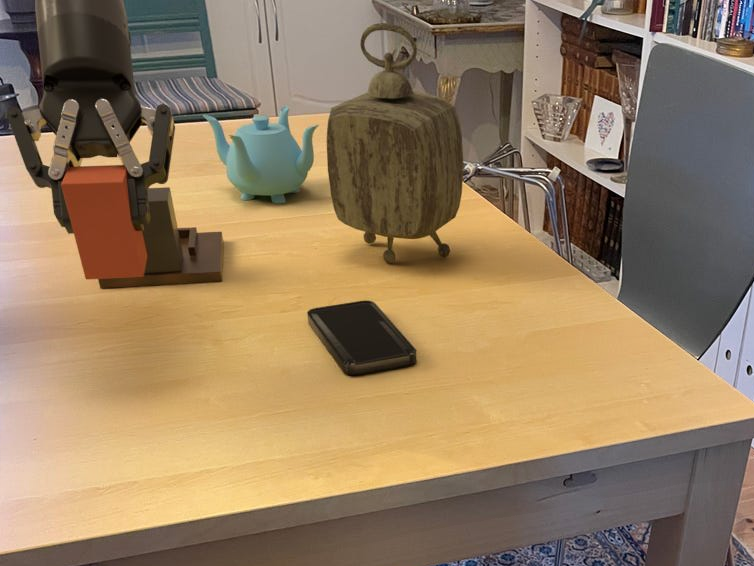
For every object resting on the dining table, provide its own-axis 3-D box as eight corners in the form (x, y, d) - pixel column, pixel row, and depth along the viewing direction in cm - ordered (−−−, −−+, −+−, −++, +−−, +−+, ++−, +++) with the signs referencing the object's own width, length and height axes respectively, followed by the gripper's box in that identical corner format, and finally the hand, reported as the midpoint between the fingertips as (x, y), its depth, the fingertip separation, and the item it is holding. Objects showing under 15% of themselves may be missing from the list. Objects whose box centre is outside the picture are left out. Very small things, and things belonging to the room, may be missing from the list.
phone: (346, 366, 93) (304, 309, 103) (347, 377, 94) (305, 319, 104) (420, 353, 95) (372, 298, 105) (420, 363, 96) (373, 308, 106)
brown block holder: (100, 288, 110) (78, 206, 104) (111, 246, 120) (92, 169, 114) (222, 281, 112) (208, 200, 106) (223, 240, 122) (210, 164, 116)
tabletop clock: (463, 255, 119) (463, 23, 102) (432, 280, 113) (426, 37, 96) (364, 237, 123) (348, 12, 107) (328, 260, 117) (306, 24, 101)
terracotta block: (85, 279, 83) (60, 183, 78) (92, 259, 87) (68, 166, 82) (143, 277, 84) (123, 181, 79) (147, 256, 88) (127, 164, 82)
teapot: (240, 214, 130) (228, 133, 123) (212, 187, 139) (199, 111, 132) (327, 200, 135) (320, 122, 128) (295, 175, 143) (287, 101, 136)
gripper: (-19, 9, 77) (1, 209, 77) (161, 8, 79) (182, 202, 79) (12, 69, 85) (31, 252, 84) (176, 66, 87) (195, 245, 86)
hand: (104, 227), depth 81 cm, fingers closed on terracotta block, 5 cm apart
